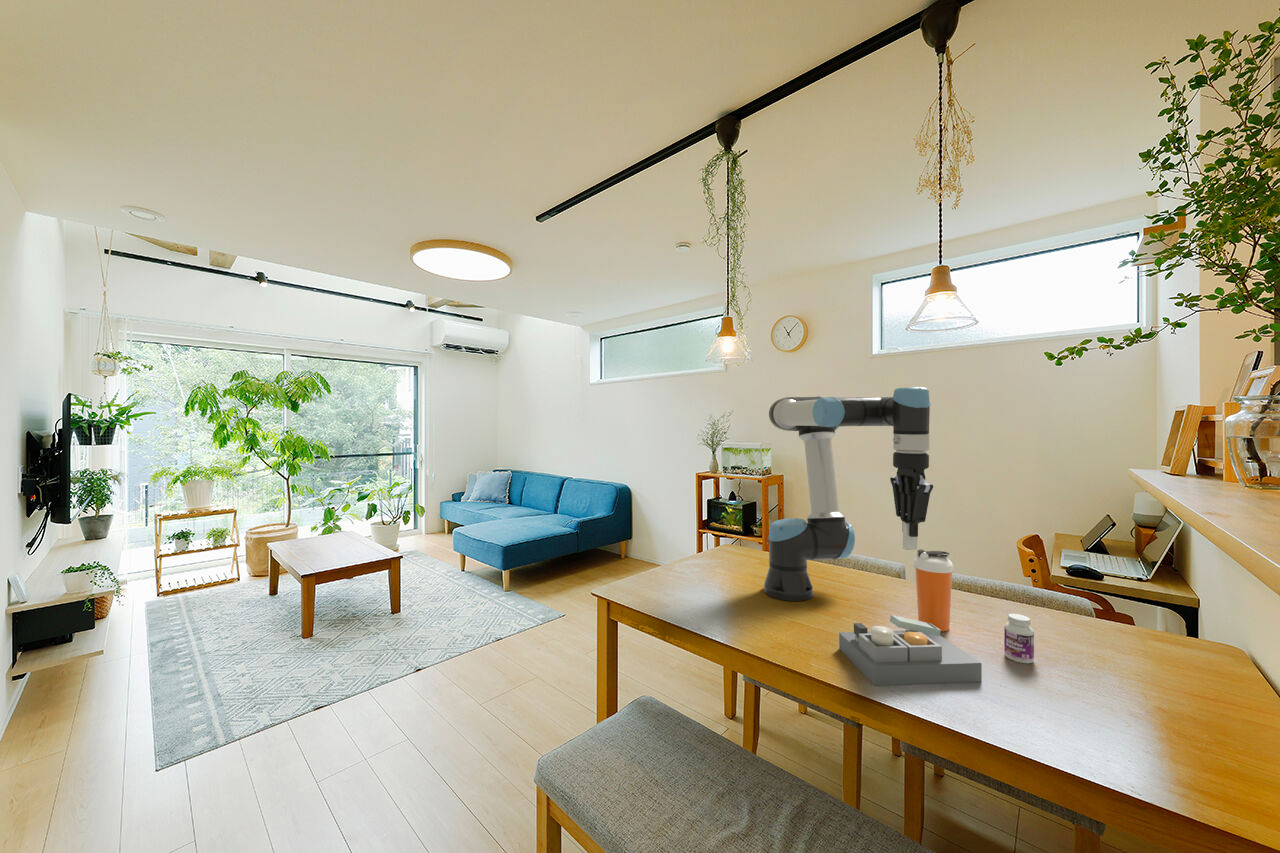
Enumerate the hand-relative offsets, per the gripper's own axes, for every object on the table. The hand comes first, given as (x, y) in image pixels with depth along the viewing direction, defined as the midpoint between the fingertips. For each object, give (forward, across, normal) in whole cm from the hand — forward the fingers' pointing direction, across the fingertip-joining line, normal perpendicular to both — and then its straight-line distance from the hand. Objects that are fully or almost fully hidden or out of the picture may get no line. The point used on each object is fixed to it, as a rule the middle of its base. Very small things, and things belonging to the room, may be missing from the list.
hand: (909, 548), depth 114 cm
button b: (+19, +10, -5) cm, 23 cm away
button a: (+18, +10, -13) cm, 24 cm away
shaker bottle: (+25, -11, +14) cm, 30 cm away
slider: (+19, +4, -14) cm, 24 cm away
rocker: (+17, +4, -1) cm, 17 cm away
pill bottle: (+24, +7, +22) cm, 33 cm away
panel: (+24, +8, -6) cm, 26 cm away
